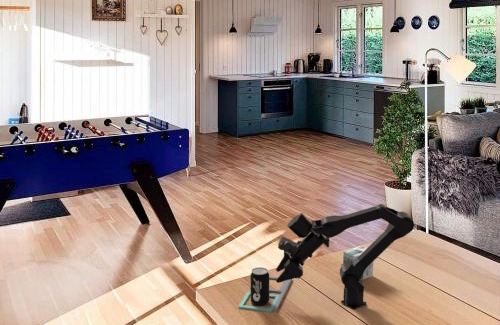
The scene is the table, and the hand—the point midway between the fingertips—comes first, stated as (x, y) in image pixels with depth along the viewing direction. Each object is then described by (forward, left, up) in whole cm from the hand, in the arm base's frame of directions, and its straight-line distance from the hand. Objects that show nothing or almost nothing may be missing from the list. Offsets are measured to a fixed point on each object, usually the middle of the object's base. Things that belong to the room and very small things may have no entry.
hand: (276, 276), depth 193 cm
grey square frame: (+13, -7, -10) cm, 18 cm away
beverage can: (+4, +5, -10) cm, 12 cm away
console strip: (+6, -3, -10) cm, 12 cm away
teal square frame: (+4, +5, -10) cm, 12 cm away
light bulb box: (-2, -39, -10) cm, 41 cm away
